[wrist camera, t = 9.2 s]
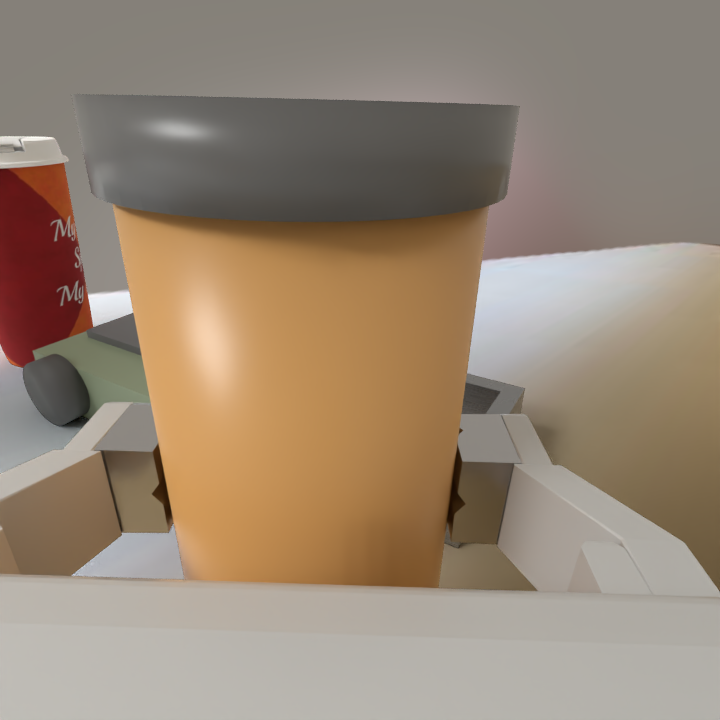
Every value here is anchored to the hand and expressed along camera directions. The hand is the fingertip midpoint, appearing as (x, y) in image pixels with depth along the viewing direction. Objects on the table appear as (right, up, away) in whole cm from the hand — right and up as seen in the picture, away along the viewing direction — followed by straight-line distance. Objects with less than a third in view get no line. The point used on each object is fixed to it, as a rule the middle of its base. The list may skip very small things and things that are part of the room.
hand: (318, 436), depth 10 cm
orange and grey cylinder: (0, -8, +3) cm, 8 cm away
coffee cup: (-23, +2, +29) cm, 37 cm away
